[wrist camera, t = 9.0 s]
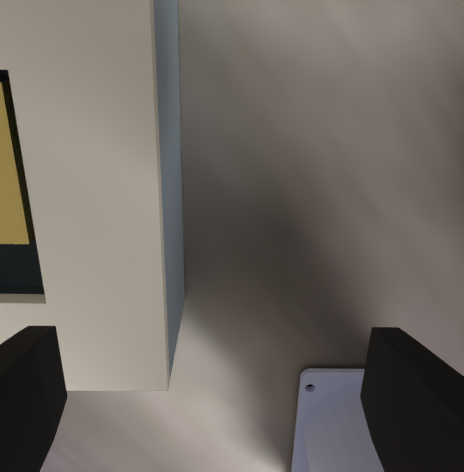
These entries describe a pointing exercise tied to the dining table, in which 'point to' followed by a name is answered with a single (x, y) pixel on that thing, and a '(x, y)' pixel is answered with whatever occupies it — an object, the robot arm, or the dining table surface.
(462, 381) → the robot arm
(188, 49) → the dining table surface
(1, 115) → the gold block
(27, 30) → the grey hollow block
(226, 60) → the dining table surface
